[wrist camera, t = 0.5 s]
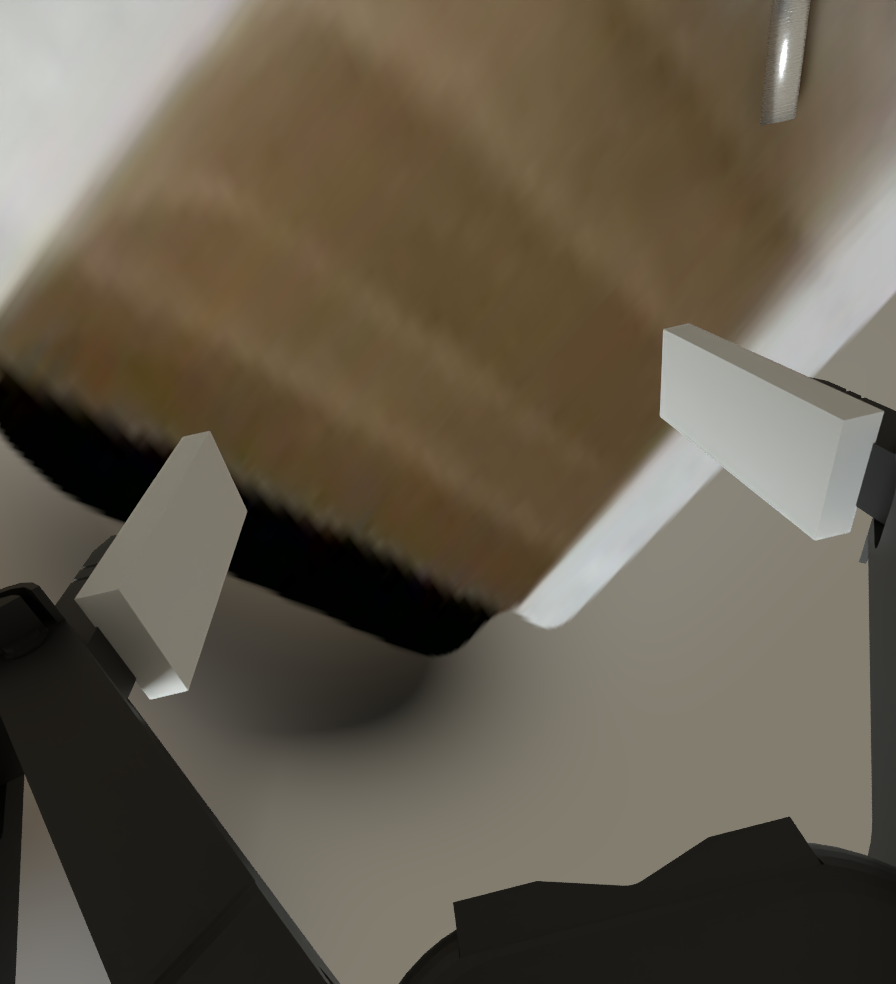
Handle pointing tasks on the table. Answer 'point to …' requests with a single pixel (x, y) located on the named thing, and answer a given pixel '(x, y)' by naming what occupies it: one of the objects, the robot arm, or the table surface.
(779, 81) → the block
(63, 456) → the table surface
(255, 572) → the table surface
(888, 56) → the table surface
